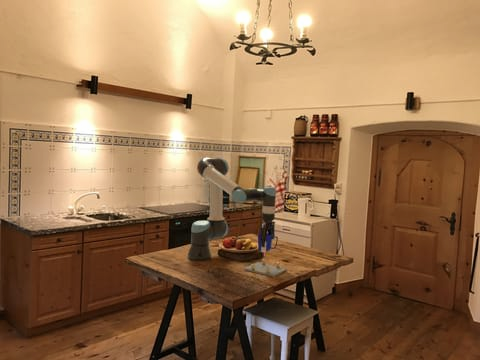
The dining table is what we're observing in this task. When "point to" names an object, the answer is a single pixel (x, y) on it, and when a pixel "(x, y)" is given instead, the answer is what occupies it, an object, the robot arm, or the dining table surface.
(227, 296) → the dining table surface
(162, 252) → the dining table surface
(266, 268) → the tray
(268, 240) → the mug
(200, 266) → the dining table surface
